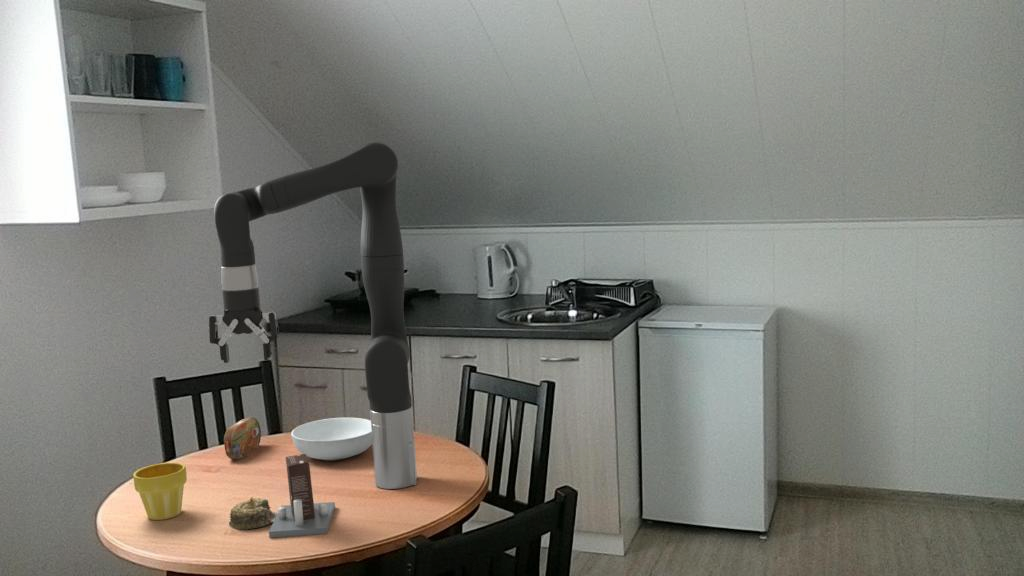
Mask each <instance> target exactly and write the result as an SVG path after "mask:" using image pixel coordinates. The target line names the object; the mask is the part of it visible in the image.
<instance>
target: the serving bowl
mask: <svg viewBox="0 0 1024 576" xmlns="http://www.w3.org/2000/svg"><path fill="white" fill-rule="evenodd" d="M290 434H291V440H292V442H293V444H294V447H295V448H296V449H297V451H298V452H300V453H301V454H306V456H307V457H308V458H312V459H316V460H323V461H339V460H344V459H348V458H351V457H354V456H357V455H359V454H362V453H363V452H366V451H367V449H369V448H370V447H371V446H373V445H372V430H371V419H367V418H360V417H334V418H333V417H331V418H324V419H318V420H313V421H310V422H306V423H303V424H301V425H298V426H297V427H295V428H294V429H292V431H291V433H290Z"/></svg>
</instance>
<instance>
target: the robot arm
mask: <svg viewBox="0 0 1024 576" xmlns="http://www.w3.org/2000/svg"><path fill="white" fill-rule="evenodd" d="M398 168H399V160H398V157H397V154H396V153H395V151H394V150H393V149H392V148H391V147H390V146H389V145H387V144H385V143H382V142H369V143H367V144H365V145H363V146H362V147H361V148H360V149H358V150H356V151H354V152H352V153H350V154H348V155H346V156H344V157H342V158H339V159H337V160H335V161H332V162H329V163H327V164H323V165H320V166H316V167H313V168H308V169H305V170H301V171H297V172H294V173H289V174H285V175H283V176H279V177H276V178H273V179H270V180H267V181H264V182H262V183H260V184H259V185H257V186H256V185H255V186H252V187H247V188H244V189H241V190H237V191H234V192H233V191H232V192H228V193H224V194H222V195H220V196H219V197H218V199H217V200H216V202H215V204H214V207H213V215H214V217H213V219H214V223H215V224H214V225H215V230H216V232H217V233H216V234H217V237H218V241H219V252H220V253H219V254H220V255H219V256H220V264H221V266H220V267H221V272H220V273H221V274H220V279H221V280H220V281H221V282H220V285H221V291H222V303H223V314H222V315H217V314H212V315H210V316H209V317H208V321H209V322H208V326H209V343H210V344H212V345H213V344H215V345H218V347H219V351H220V352H219V353H220V359H221V360H220V361H223V363H224V364H228V363H230V351H229V350H230V349H229V344H228V341H229V340H230V338H231V337H232V335H233V334H235V335H241V334H247V335H249V334H252V333H254V334H255V335H256V336H257V337H258V338H260V340H262V342H263V344H262V349H263V359H264V361H269V360H270V358H271V357H272V355H273V350H272V342H273V341H276V340H277V339H278V338H279V337H280V331H279V324H278V315H277V312H276V310H272V311H270V312H263V311H262V309H261V299H260V298H261V297H260V289H259V276H258V270H257V267H256V255H255V253H256V252H255V246H254V243H253V242H254V241H253V240H252V239H251V229H250V222H251V221H254V220H258V219H260V218H262V217H266V216H268V215H275V214H279V213H282V212H285V211H288V210H292V209H294V208H298V207H301V206H305V205H306V204H309V203H311V202H314V201H317V200H319V199H322V198H325V197H327V196H329V195H332V194H336V193H339V192H343V191H347V190H350V189H351V190H352V189H357V188H359V189H360V196H361V204H362V205H361V207H362V214H361V215H362V217H361V228H360V267H361V275H362V281H363V287H364V290H365V295H366V298H367V301H368V306H369V311H370V319H371V320H370V321H371V323H370V324H371V326H370V327H371V328H370V329H371V332H370V343H369V346H368V348H367V350H366V353H365V357H364V370H365V373H364V374H365V383H366V384H365V385H366V393H367V399H368V401H369V402H368V404H369V414H370V420H371V430H372V445H371V446H372V456H373V457H372V458H373V459H372V460H373V470H374V484H375V486H376V487H377V488H380V489H385V490H386V489H387V490H396V489H403V488H407V487H411V486H416V485H417V479H418V472H417V471H418V470H417V458H416V457H417V455H416V453H417V452H416V441H415V439H416V437H415V435H414V434H415V433H414V420H413V405H412V404H413V403H412V401H413V400H412V393H411V391H410V381H409V379H410V378H409V367H408V365H409V362H410V358H411V352H410V345H409V341H408V335H407V327H406V322H405V321H406V320H405V315H404V314H405V313H404V304H405V303H404V302H405V262H404V261H405V260H404V248H403V241H402V234H401V228H400V227H401V226H400V223H399V218H398V212H397V203H396V199H397V197H396V196H397V177H398V176H397V173H398ZM263 319H265V321H266V322H267V323H268V324H269V329H270V334H269V333H267V331H266V329H265V328H264V327H263V326H262V325H261V323H262V321H263ZM222 321H223V323H224V324H225V326H227V329H226V330H225V332H224V333H223V335H222V337H219V325H221V322H222Z"/></svg>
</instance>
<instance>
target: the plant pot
mask: <svg viewBox="0 0 1024 576" xmlns="http://www.w3.org/2000/svg"><path fill="white" fill-rule="evenodd" d="M132 478H133V484H134V485H133V486H134V490H135V491H136V492H137V493H138V494H139V497H140V499H141V502H142V504H143V507H144V510H145V513H146V516H147V518H148V519H149V520H153V521H162V520H168V519H169V520H170V519H171V518H174V517H177V516H179V515H180V514H181V513H182V509H183V507H182V505H183V499H184V498H183V496H184V487H185V484H186V483H187V481H188V479H187V468H186V465H185V464H183V463H181V462H172V461H171V462H162V463H156V464H152V465H151V464H150V465H148V466H144V467H141V468H139V469H137V470H136V471H134V473H133V475H132Z"/></svg>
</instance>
